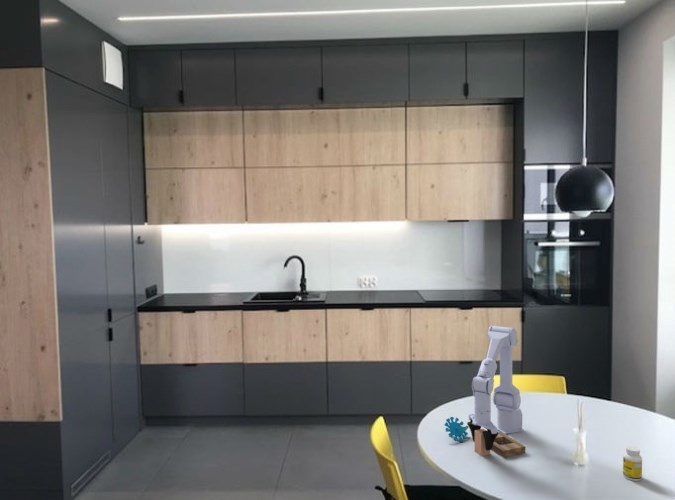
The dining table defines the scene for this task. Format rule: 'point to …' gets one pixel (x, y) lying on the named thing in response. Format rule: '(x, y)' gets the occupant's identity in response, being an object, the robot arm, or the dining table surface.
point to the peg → (480, 443)
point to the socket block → (507, 446)
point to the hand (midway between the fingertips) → (482, 445)
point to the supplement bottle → (632, 464)
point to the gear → (456, 429)
